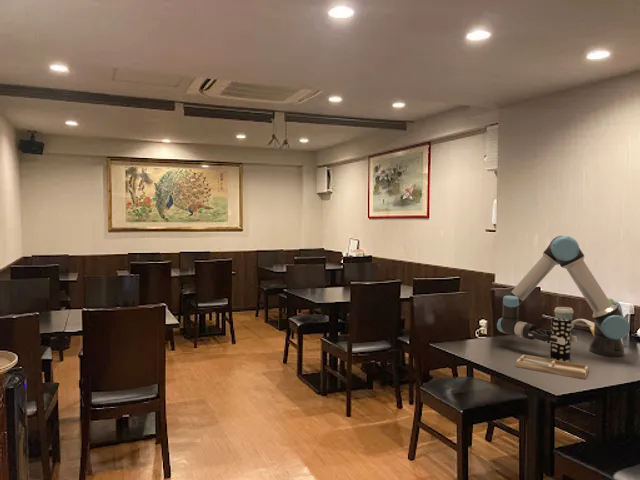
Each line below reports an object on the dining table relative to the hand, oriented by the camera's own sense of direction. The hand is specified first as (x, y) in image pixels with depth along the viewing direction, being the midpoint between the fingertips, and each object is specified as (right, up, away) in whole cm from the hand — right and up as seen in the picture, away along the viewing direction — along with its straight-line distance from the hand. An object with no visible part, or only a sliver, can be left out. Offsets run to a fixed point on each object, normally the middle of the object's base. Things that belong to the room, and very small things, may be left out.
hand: (570, 340), depth 217 cm
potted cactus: (+41, -11, +41) cm, 59 cm away
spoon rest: (+50, -10, +71) cm, 88 cm away
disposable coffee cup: (+31, -10, +67) cm, 74 cm away
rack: (-12, -11, -6) cm, 17 cm away
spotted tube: (-3, -11, +4) cm, 12 cm away
